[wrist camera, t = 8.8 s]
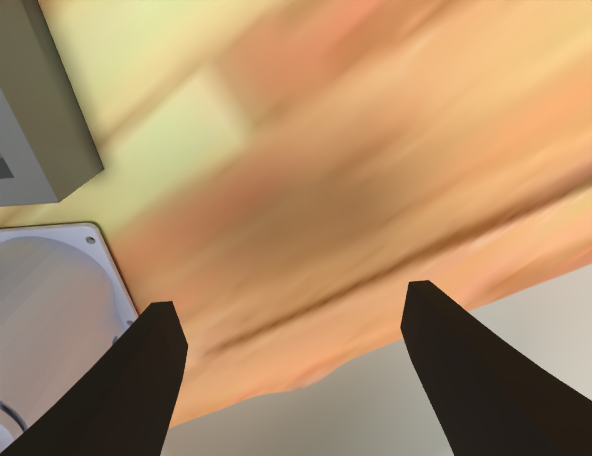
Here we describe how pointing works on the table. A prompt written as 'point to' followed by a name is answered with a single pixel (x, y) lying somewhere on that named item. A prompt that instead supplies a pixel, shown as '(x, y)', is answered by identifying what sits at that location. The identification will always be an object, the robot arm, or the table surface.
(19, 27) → the case
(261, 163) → the table surface
